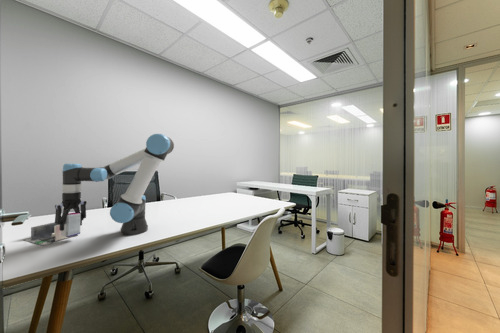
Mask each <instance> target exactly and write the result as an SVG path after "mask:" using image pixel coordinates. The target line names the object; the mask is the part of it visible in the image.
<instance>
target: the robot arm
mask: <svg viewBox="0 0 500 333" xmlns="http://www.w3.org/2000/svg"><path fill="white" fill-rule="evenodd" d="M145 143H146V144H145V145H146V146H145V148H143V149H141V150H139V151H137V152H136V151H135V152H134V153H132V154H130V155H128V156H125V157H123V158H120V159H119V160H116V161H114V162H112V163H110V164H109V163H108V164H107V165H105V166H99V167H82V164H81V163H64V164H63V165H62V171H61V172H62V187H61V188H62V194H61V199H62V200H61V203H60V204H55V205H54V208H55V215H54V218H55V219H54V222H55V224H59V225H60V230H61V236H64V237H65V236H66V225H67V224H65V221H66V218H67V215H68V214H69V213H70V211H71V210H73V211H74V213H80V214H81V216H80V227H82V225H83V221H84V219H87V208H86V206H87V201H86V200H81V198H82V197H81V196H82V192H81V191H82V182H97V183H98V182H105V181H106V180H110V179H113V178H114V177H115V176H117V175H119V174H121V173H125V172H126V171H128V170H130V169H132V168H135V167H137V166H139V167H138V168H137V171H136V172H135V174H134V177H133V178H132V180H131V182H130V184H129V185H128V187H127V189H126V191H125V193H123V194H120V197H119V198H118V200H117V202H116V203H114V204H113V206H111V208H110V211H109V216H110V218H111V219H112V220H113V221H114V222H116V223H119V224H121V227H120V229H119V230H120V234H121V235H124V236H134V235H140V234H142V233H145V232H147V231H148V229H149V228H148V227H149V225H148V223H147V220H146V201H147V199H146V195H144V194H145V192H146V190H147V188H148V186H149V184H150V183H151V181H152V179H153V177H154V175H155V172H156V171H157V169H158V167H159V165H160V164H161V162H164V161H165V159H166V158H167V156H168V155H169V154H171V153H172V152H173V151H174V148H175V144H174V141H173V140H172V139H171V138H170V137H168V136H167V135H166V134H163V133H153V134H152V135H150V136H149V137H148V138H147V139H146V142H145Z"/></svg>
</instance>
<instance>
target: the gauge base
mask: <svg viewBox="0 0 500 333" xmlns="http://www.w3.org/2000/svg"><path fill="white" fill-rule="evenodd" d="M56 225H59V224H55V221H54V222H50V223H45V224H40V225H36V226H31V227H30V237H29V238H25V239H23V241H24V242H28V243H32V244H35V245H38V246H42V247H43V246H47V245H50V244H54V243H57V242H60V241H63V240H67V239H71V238H74V237H77V236H78V235H79V234H77V235H74V236H71V237H68V238H64V239H61V240H57V241H55V239H54V238H52V239H49V240H45V241H42V240H43V239H47V238H50V237H52V233H54V226H56Z"/></svg>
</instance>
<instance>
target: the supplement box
mask: <svg viewBox="0 0 500 333" xmlns="http://www.w3.org/2000/svg"><path fill="white" fill-rule="evenodd" d="M80 213H81V212H80ZM80 213H75V212H69V213H68V215H67V218H66V221H65V224H67V225H66V237H71V236H74V235H77V234H78V235H80V234H81V226H80V216H81V214H80ZM74 237H75V236H74ZM71 238H72V237H71Z"/></svg>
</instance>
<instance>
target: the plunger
mask: <svg viewBox="0 0 500 333" xmlns="http://www.w3.org/2000/svg"><path fill="white" fill-rule="evenodd" d="M52 238H54V239H55V241H57V240H60V241H62V240H61V239H64V238H67V239H69V238H68V237H66V236H65V237H64V236H61V230H60V225H56V226H54V233H52V237H50V238H47V239H43V240H42V241H45V240H49V239H52ZM64 240H65V239H64ZM57 242H58V241H57Z"/></svg>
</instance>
